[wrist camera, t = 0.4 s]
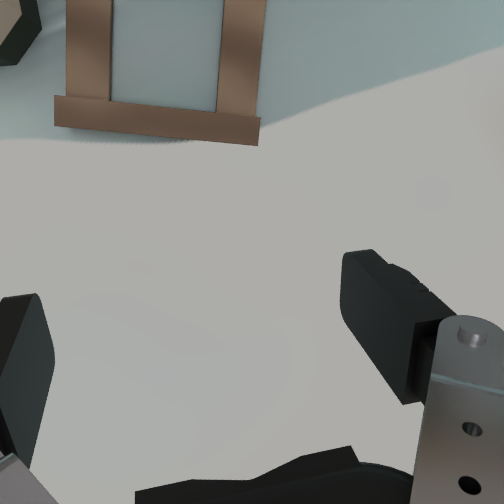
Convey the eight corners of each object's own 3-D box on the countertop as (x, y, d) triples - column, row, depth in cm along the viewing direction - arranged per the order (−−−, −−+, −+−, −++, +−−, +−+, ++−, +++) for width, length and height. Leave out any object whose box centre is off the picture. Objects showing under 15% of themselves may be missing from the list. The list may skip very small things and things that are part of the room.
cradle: (70, -99, 32) (53, -131, 28) (270, -65, 34) (280, -91, 30) (69, 127, 35) (54, 125, 31) (250, 144, 37) (257, 146, 33)
